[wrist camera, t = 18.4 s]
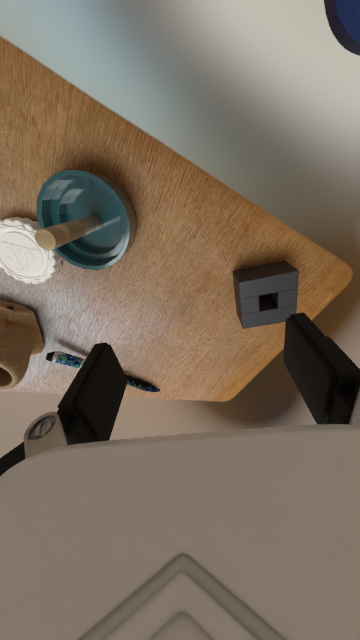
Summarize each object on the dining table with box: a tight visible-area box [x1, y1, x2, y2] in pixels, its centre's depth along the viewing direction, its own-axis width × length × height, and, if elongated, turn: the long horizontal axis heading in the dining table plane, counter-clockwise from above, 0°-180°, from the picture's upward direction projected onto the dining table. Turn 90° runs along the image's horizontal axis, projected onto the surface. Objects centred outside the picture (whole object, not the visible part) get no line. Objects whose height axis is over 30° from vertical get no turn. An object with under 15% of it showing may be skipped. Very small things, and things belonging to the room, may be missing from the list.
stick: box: [35, 215, 103, 251], centre depth 31 cm, size 2×2×16 cm
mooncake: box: [0, 217, 63, 284], centre depth 40 cm, size 12×12×4 cm
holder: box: [233, 261, 299, 329], centre depth 42 cm, size 10×10×6 cm
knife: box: [46, 351, 160, 392], centre depth 57 cm, size 31×3×4 cm, turn 55°
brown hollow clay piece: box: [0, 300, 43, 390], centre depth 45 cm, size 15×12×15 cm
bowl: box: [37, 169, 136, 270], centre depth 36 cm, size 14×14×6 cm
